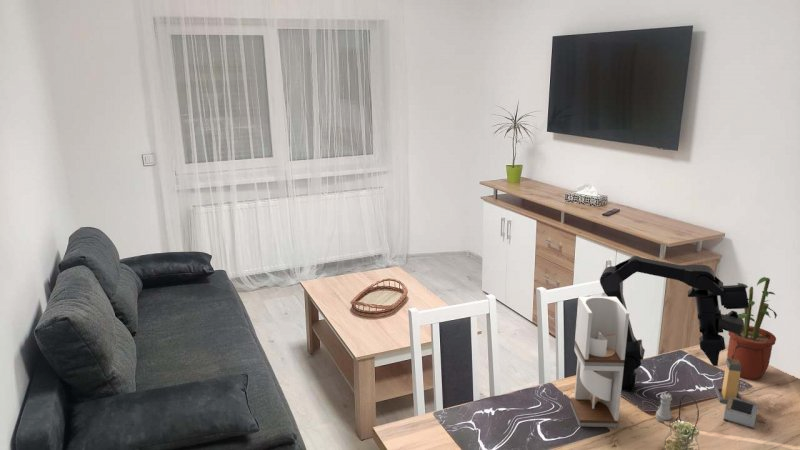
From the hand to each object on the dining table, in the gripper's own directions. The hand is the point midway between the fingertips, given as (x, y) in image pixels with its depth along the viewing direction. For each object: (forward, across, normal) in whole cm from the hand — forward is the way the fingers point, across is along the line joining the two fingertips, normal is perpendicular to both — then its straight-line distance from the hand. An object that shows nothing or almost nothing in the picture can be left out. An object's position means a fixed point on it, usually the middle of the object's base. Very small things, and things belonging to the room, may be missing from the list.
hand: (714, 358), depth 168 cm
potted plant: (+18, +24, -5) cm, 30 cm away
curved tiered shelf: (+8, -21, +33) cm, 40 cm away
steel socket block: (+16, -6, -4) cm, 18 cm away
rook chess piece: (+12, -14, +15) cm, 24 cm away
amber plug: (+15, +4, -2) cm, 16 cm away
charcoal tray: (+16, +4, -2) cm, 17 cm away
